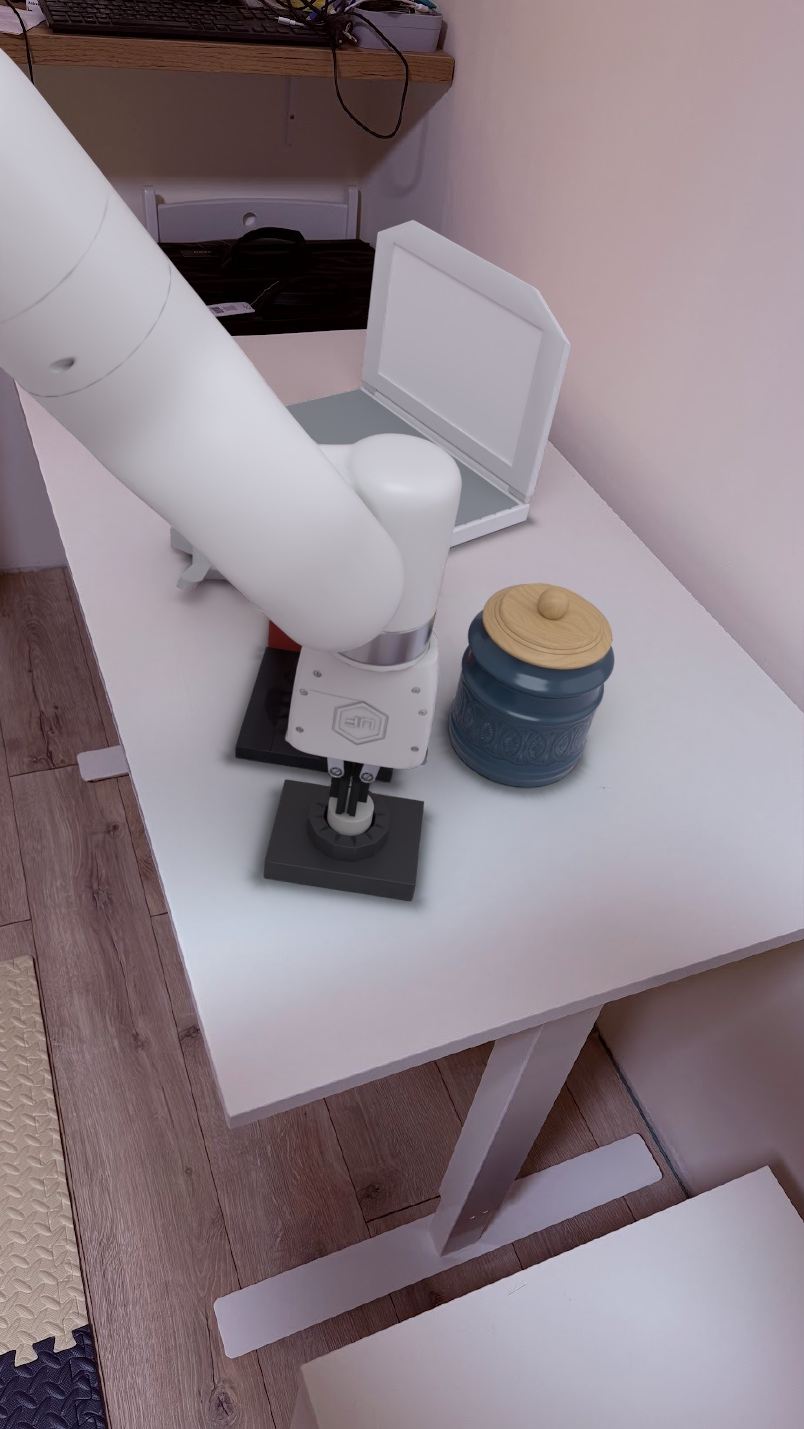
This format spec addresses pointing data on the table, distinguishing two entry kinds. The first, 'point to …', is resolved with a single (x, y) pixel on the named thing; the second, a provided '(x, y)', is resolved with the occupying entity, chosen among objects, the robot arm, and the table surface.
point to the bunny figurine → (193, 564)
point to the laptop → (454, 372)
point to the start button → (350, 817)
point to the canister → (530, 684)
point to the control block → (345, 844)
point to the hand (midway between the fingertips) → (347, 801)
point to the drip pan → (276, 717)
